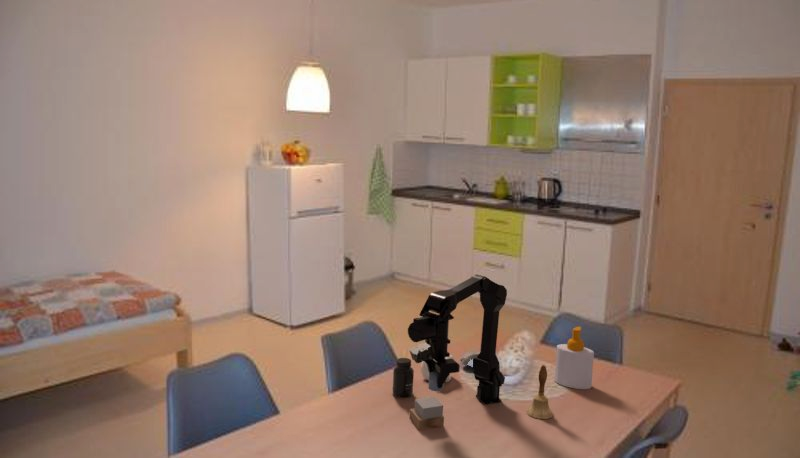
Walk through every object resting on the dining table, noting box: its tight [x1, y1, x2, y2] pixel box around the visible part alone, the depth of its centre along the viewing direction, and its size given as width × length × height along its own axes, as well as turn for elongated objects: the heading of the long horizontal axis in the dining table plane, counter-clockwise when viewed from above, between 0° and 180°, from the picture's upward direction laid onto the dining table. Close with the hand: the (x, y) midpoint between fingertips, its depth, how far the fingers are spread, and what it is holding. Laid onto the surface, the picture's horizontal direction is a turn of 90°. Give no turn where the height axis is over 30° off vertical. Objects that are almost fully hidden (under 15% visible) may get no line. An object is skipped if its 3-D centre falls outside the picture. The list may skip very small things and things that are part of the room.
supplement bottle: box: [392, 357, 415, 399], centre depth 214 cm, size 7×7×12 cm
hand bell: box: [526, 364, 554, 420], centre depth 202 cm, size 8×8×16 cm
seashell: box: [460, 353, 479, 367], centre depth 241 cm, size 12×8×5 cm
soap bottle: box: [554, 326, 595, 390], centre depth 225 cm, size 13×8×20 cm, turn 58°
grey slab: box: [414, 396, 444, 419], centre depth 194 cm, size 6×6×4 cm
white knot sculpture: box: [420, 354, 455, 383], centre depth 228 cm, size 11×12×9 cm
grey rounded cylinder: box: [428, 371, 445, 392], centre depth 193 cm, size 4×4×4 cm
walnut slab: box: [409, 407, 445, 431], centre depth 195 cm, size 8×8×4 cm
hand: (436, 384), depth 193 cm, fingers closed on grey rounded cylinder, 4 cm apart
